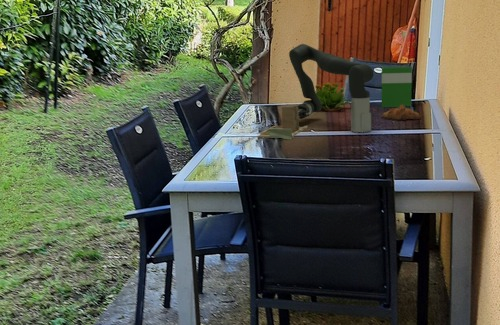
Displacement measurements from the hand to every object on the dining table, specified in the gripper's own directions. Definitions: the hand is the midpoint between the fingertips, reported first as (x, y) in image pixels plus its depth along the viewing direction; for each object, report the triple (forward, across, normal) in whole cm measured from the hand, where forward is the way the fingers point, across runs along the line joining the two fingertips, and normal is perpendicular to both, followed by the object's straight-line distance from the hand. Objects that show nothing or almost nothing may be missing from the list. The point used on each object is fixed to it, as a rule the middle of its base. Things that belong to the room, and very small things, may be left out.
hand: (292, 116), depth 313 cm
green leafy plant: (-69, -2, -8) cm, 69 cm away
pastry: (-43, -48, -8) cm, 65 cm away
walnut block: (+4, 0, -7) cm, 8 cm away
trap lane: (+6, +3, -8) cm, 11 cm away
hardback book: (-86, -38, -8) cm, 94 cm away
